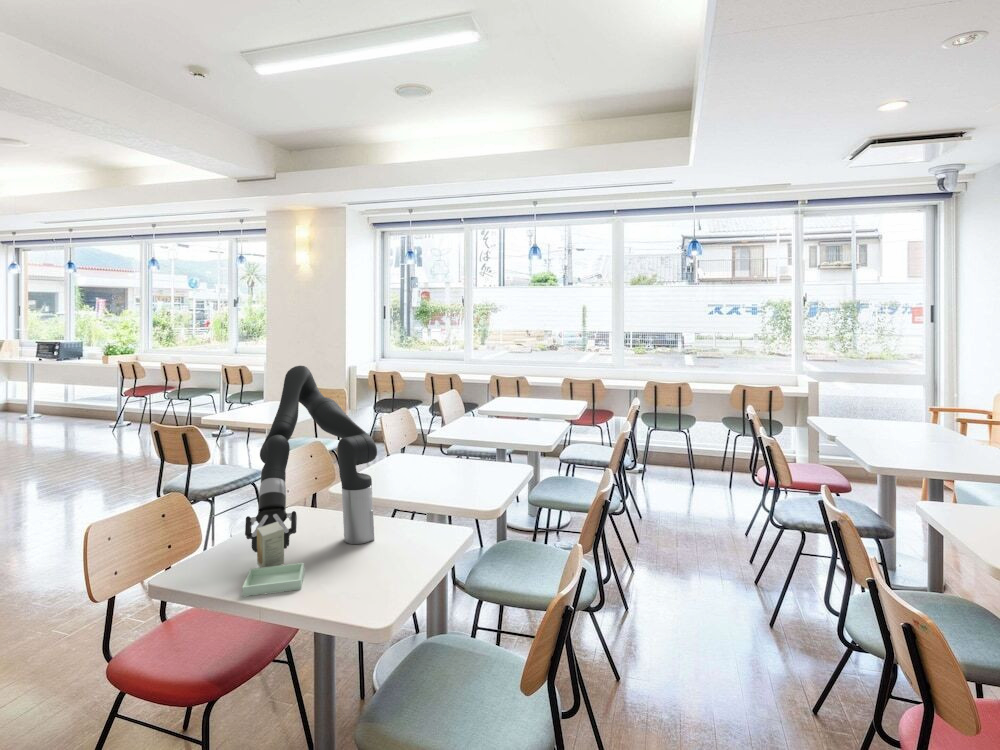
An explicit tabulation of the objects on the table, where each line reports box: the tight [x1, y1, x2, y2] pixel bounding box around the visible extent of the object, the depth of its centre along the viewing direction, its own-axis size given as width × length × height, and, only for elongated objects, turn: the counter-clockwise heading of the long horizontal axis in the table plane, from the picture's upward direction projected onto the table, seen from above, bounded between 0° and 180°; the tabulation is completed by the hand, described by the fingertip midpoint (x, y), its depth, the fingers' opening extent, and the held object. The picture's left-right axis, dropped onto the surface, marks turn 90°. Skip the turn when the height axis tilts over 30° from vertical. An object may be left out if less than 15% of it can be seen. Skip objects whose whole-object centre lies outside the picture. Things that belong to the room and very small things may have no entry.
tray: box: [242, 562, 305, 597], centre depth 151 cm, size 14×11×2 cm
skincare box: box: [256, 522, 285, 568], centre depth 160 cm, size 6×4×12 cm
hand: (270, 549), depth 160 cm, fingers closed on skincare box, 7 cm apart
